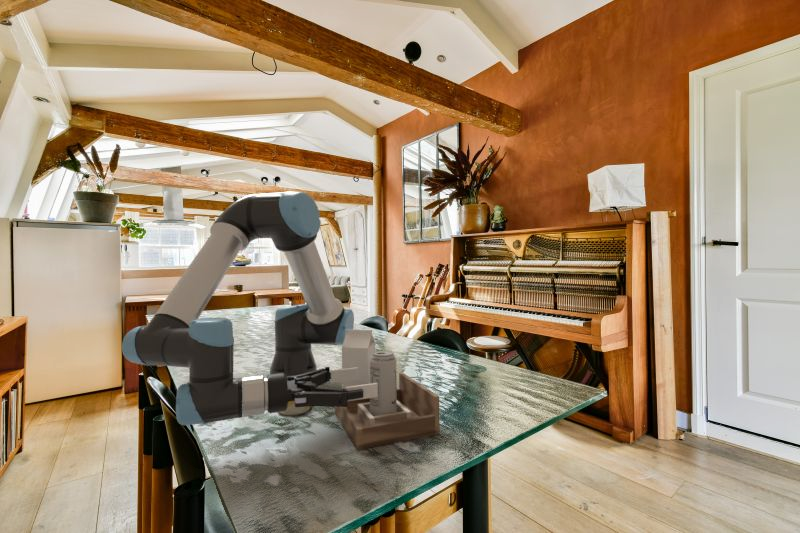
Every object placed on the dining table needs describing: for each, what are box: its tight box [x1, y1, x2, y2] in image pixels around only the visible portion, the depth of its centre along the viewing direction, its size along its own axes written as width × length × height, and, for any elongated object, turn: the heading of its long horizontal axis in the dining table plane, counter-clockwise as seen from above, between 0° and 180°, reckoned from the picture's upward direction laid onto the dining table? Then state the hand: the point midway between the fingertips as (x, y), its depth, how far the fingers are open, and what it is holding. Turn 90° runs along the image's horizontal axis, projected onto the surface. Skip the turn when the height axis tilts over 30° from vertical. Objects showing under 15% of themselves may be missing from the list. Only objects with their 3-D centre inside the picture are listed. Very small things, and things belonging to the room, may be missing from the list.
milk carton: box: [341, 329, 376, 389], centre depth 100 cm, size 7×7×19 cm
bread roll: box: [278, 401, 312, 416], centre depth 95 cm, size 8×9×4 cm
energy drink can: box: [370, 350, 398, 416], centre depth 86 cm, size 6×6×15 cm
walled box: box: [334, 372, 440, 451], centre depth 86 cm, size 20×18×8 cm
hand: (366, 380), depth 84 cm, fingers open, 13 cm apart
